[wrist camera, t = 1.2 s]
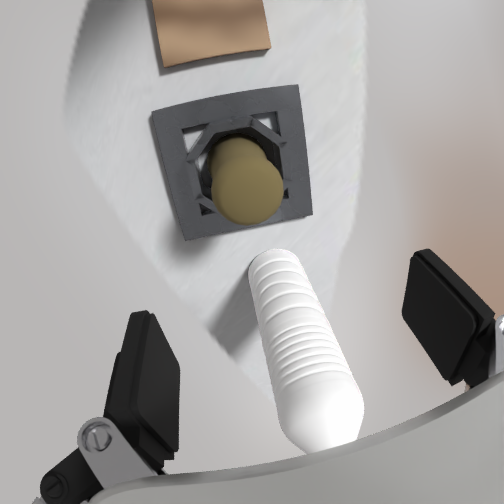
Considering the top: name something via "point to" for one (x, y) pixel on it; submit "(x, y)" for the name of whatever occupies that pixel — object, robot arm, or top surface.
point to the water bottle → (303, 356)
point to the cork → (243, 180)
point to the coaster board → (209, 28)
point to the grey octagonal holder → (223, 119)
